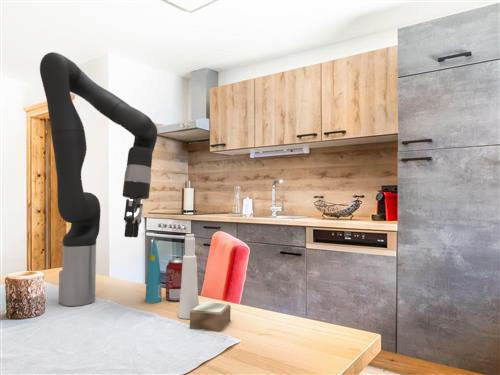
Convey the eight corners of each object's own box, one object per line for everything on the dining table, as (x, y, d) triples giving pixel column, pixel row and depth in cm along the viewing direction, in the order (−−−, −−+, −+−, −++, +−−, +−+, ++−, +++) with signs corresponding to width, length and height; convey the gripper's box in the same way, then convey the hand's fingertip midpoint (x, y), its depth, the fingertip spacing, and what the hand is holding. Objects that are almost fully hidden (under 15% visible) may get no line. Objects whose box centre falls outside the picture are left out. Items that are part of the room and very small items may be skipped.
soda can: (182, 302, 112) (183, 263, 112) (162, 301, 113) (162, 262, 113) (190, 296, 118) (191, 259, 118) (171, 295, 119) (171, 258, 120)
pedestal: (189, 328, 90) (189, 310, 90) (201, 318, 98) (201, 301, 98) (220, 331, 88) (221, 313, 88) (230, 320, 96) (230, 303, 96)
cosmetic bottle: (173, 318, 97) (175, 234, 98) (183, 311, 103) (184, 232, 104) (195, 320, 96) (196, 235, 97) (203, 313, 102) (204, 233, 102)
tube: (143, 298, 116) (145, 237, 116) (159, 297, 117) (160, 236, 118) (147, 305, 109) (148, 240, 109) (163, 303, 111) (164, 239, 111)
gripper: (128, 184, 115) (122, 236, 113) (119, 176, 101) (112, 236, 99) (153, 186, 116) (147, 238, 114) (147, 179, 102) (140, 238, 100)
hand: (131, 237), depth 106 cm, fingers open, 8 cm apart
